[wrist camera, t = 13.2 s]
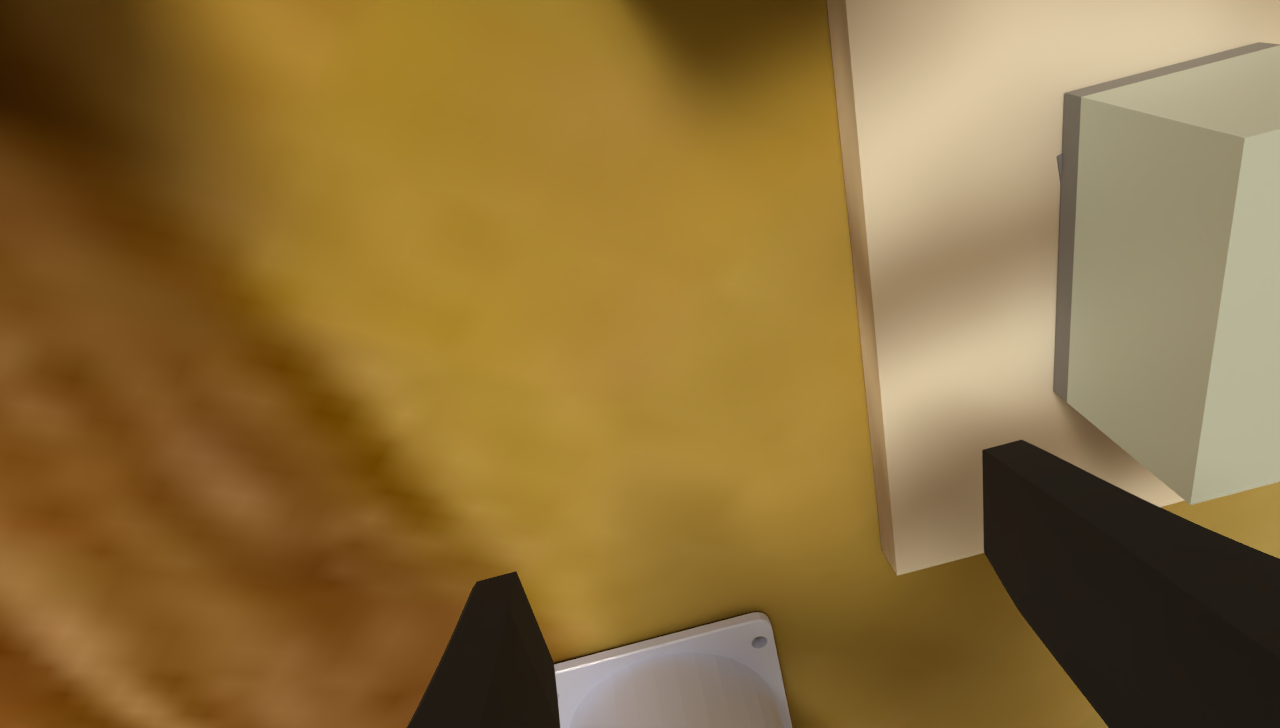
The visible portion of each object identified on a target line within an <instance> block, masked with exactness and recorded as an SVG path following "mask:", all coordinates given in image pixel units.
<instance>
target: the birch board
mask: <svg viewBox="0 0 1280 728" xmlns="http://www.w3.org/2000/svg"><path fill="white" fill-rule="evenodd" d="M826 1H827V11H828V21H829V30H830V40H831V50H832V60H833V70H834V80H835V90H836V100H837V110H838V120H839V130H840V140H841V150H842V160H843V170H844V180H845V190H846V200H847V210H848V220H849V230H850V240H851V250H852V260H853V270H854V280H855V289H856V299H857V309H858V319H859V329H860V339H861V349H862V359H863V369H864V379H865V389H866V399H867V409H868V419H869V429H870V439H871V449H872V459H873V469H874V479H875V489H876V499H877V509H878V519H879V529H880V539H881V548H882V551H883V553H884V554H885V556H886V558H887V559H888V561H889V563H890V565H891V566H892V568H893V570H894V571H895V573H896V575H897V576H898V575H902V574H906V573H909V572H913V571H917V570H921V569H925V568H929V567H932V566H936V565H940V564H944V563H948V562H952V561H955V560H959V559H963V558H967V557H971V556H975V555H978V554H982V553H984V531H983V465H982V450H984V449H987V448H991V447H995V446H999V445H1003V444H1007V443H1010V442H1014V441H1018V440H1024V441H1026V442H1028V443H1030V444H1033V445H1035V446H1037V447H1039V448H1041V449H1043V450H1045V451H1047V452H1049V453H1051V454H1053V455H1055V456H1057V457H1059V458H1061V459H1063V460H1065V461H1067V462H1069V463H1071V464H1073V465H1075V466H1077V467H1079V468H1081V469H1083V470H1085V471H1087V472H1089V473H1091V474H1093V475H1095V476H1097V477H1099V478H1101V479H1103V480H1105V481H1107V482H1109V483H1111V484H1113V485H1115V486H1117V487H1119V488H1121V489H1123V490H1125V491H1127V492H1129V493H1131V494H1133V495H1135V496H1137V497H1139V498H1141V499H1143V500H1146V501H1148V502H1150V503H1152V504H1154V505H1156V506H1158V507H1162V506H1166V505H1170V504H1173V503H1177V502H1181V501H1185V500H1184V499H1182V498H1181V497H1180V496H1179V495H1178V494H1176V493H1175V492H1174V491H1173V490H1172V489H1170V488H1169V487H1168V486H1167V485H1166V484H1164V483H1163V482H1162V481H1161V480H1159V479H1158V478H1157V477H1156V476H1155V475H1153V474H1152V473H1151V472H1150V471H1149V470H1147V469H1146V468H1145V467H1144V466H1143V465H1141V464H1140V463H1139V462H1138V461H1137V460H1135V459H1134V458H1133V457H1132V456H1131V455H1129V454H1128V453H1127V452H1126V451H1125V450H1123V449H1122V448H1121V447H1120V446H1119V445H1117V444H1116V443H1115V442H1114V441H1113V440H1111V439H1110V438H1109V437H1108V436H1107V435H1105V434H1104V433H1103V432H1102V431H1100V430H1099V429H1098V428H1097V427H1096V426H1094V425H1093V424H1092V423H1091V422H1090V421H1088V420H1087V419H1086V418H1085V417H1084V416H1082V415H1081V414H1080V413H1079V412H1078V411H1076V410H1075V409H1074V408H1073V407H1072V406H1070V405H1069V404H1068V403H1067V402H1066V401H1064V400H1063V399H1062V398H1061V397H1060V396H1058V395H1057V394H1056V393H1055V392H1054V367H1055V339H1056V312H1057V285H1058V258H1059V231H1060V203H1061V176H1062V149H1063V122H1064V94H1065V93H1066V92H1070V91H1073V90H1077V89H1081V88H1085V87H1089V86H1093V85H1096V84H1100V83H1104V82H1108V81H1112V80H1116V79H1119V78H1123V77H1127V76H1131V75H1135V74H1139V73H1142V72H1146V71H1150V70H1154V69H1158V68H1162V67H1165V66H1169V65H1173V64H1177V63H1181V62H1185V61H1188V60H1192V59H1196V58H1200V57H1204V56H1208V55H1211V54H1215V53H1219V52H1223V51H1227V50H1231V49H1234V48H1238V47H1242V46H1246V45H1250V44H1254V43H1257V42H1263V43H1271V44H1280V0H826Z"/></svg>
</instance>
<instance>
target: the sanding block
mask: <svg viewBox="0 0 1280 728" xmlns="http://www.w3.org/2000/svg"><path fill="white" fill-rule="evenodd" d="M1054 392H1055V393H1056V394H1057V395H1058V396H1060V397H1061V398H1062V399H1063V400H1064V401H1066V402H1067V403H1068V404H1069V405H1070V406H1072V407H1073V408H1074V409H1075V410H1076V411H1078V412H1079V413H1080V414H1081V415H1082V416H1084V417H1085V418H1086V419H1087V420H1088V421H1090V422H1091V423H1092V424H1093V425H1094V426H1096V427H1097V428H1098V429H1099V430H1100V431H1102V432H1103V433H1104V434H1105V435H1107V436H1108V437H1109V438H1110V439H1111V440H1113V441H1114V442H1115V443H1116V444H1117V445H1119V446H1120V447H1121V448H1122V449H1123V450H1125V451H1126V452H1127V453H1128V454H1129V455H1131V456H1132V457H1133V458H1134V459H1135V460H1137V461H1138V462H1139V463H1140V464H1141V465H1143V466H1144V467H1145V468H1146V469H1147V470H1149V471H1150V472H1151V473H1152V474H1153V475H1155V476H1156V477H1157V478H1158V479H1159V480H1161V481H1162V482H1163V483H1164V484H1166V485H1167V486H1168V487H1169V488H1170V489H1172V490H1173V491H1174V492H1175V493H1176V494H1178V495H1179V496H1180V497H1181V498H1182V499H1184V500H1185V501H1186V502H1187V503H1188V504H1190V505H1192V504H1196V503H1200V502H1204V501H1207V500H1211V499H1215V498H1219V497H1223V496H1227V495H1230V494H1234V493H1238V492H1242V491H1246V490H1249V489H1253V488H1257V487H1261V486H1265V485H1269V484H1272V483H1276V482H1280V44H1271V43H1263V42H1257V43H1254V44H1250V45H1246V46H1242V47H1238V48H1234V49H1231V50H1227V51H1223V52H1219V53H1215V54H1211V55H1208V56H1204V57H1200V58H1196V59H1192V60H1188V61H1185V62H1181V63H1177V64H1173V65H1169V66H1165V67H1162V68H1158V69H1154V70H1150V71H1146V72H1142V73H1139V74H1135V75H1131V76H1127V77H1123V78H1119V79H1116V80H1112V81H1108V82H1104V83H1100V84H1096V85H1093V86H1089V87H1085V88H1081V89H1077V90H1073V91H1070V92H1066V93H1065V94H1064V122H1063V149H1062V176H1061V203H1060V231H1059V258H1058V285H1057V312H1056V339H1055V367H1054Z"/></svg>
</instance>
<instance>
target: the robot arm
mask: <svg viewBox="0 0 1280 728" xmlns="http://www.w3.org/2000/svg"><path fill="white" fill-rule="evenodd" d="M982 465H983V531H984V553H985V554H986V556H987V558H988V560H989V561H990V563H991V565H992V566H993V568H994V570H995V572H996V573H997V575H998V577H999V579H1000V580H1001V582H1002V584H1003V586H1004V587H1005V589H1006V590H1007V592H1008V594H1009V595H1010V597H1011V599H1012V600H1013V602H1014V604H1015V605H1016V607H1017V608H1018V610H1019V611H1020V613H1021V614H1022V616H1023V617H1024V618H1025V620H1026V621H1027V622H1028V624H1029V625H1030V626H1031V627H1032V629H1033V630H1034V631H1035V633H1036V634H1037V635H1038V637H1039V638H1040V639H1041V641H1042V642H1043V643H1044V644H1045V646H1046V647H1047V648H1048V650H1049V651H1050V652H1051V654H1052V655H1053V656H1054V658H1055V659H1056V660H1057V661H1058V663H1059V664H1060V665H1061V667H1062V668H1063V669H1064V670H1065V672H1066V673H1067V674H1068V676H1069V677H1070V678H1071V679H1072V681H1073V682H1074V683H1075V685H1076V686H1077V687H1078V688H1079V690H1080V691H1081V692H1082V694H1083V695H1084V696H1085V697H1086V699H1087V700H1088V701H1089V703H1090V704H1091V705H1092V706H1093V708H1094V709H1095V710H1096V712H1097V713H1098V714H1099V715H1100V717H1101V718H1102V719H1103V721H1104V722H1105V723H1106V724H1107V726H1108V727H1109V728H1280V559H1279V558H1276V557H1274V556H1271V555H1268V554H1266V553H1263V552H1261V551H1258V550H1256V549H1254V548H1251V547H1249V546H1246V545H1244V544H1242V543H1239V542H1237V541H1235V540H1232V539H1230V538H1228V537H1225V536H1223V535H1220V534H1218V533H1216V532H1213V531H1211V530H1209V529H1206V528H1204V527H1202V526H1200V525H1197V524H1195V523H1193V522H1191V521H1189V520H1186V519H1184V518H1182V517H1180V516H1177V515H1175V514H1173V513H1171V512H1169V511H1167V510H1165V509H1162V508H1160V507H1158V506H1156V505H1154V504H1152V503H1150V502H1148V501H1146V500H1143V499H1141V498H1139V497H1137V496H1135V495H1133V494H1131V493H1129V492H1127V491H1125V490H1123V489H1121V488H1119V487H1117V486H1115V485H1113V484H1111V483H1109V482H1107V481H1105V480H1103V479H1101V478H1099V477H1097V476H1095V475H1093V474H1091V473H1089V472H1087V471H1085V470H1083V469H1081V468H1079V467H1077V466H1075V465H1073V464H1071V463H1069V462H1067V461H1065V460H1063V459H1061V458H1059V457H1057V456H1055V455H1053V454H1051V453H1049V452H1047V451H1045V450H1043V449H1041V448H1039V447H1037V446H1035V445H1033V444H1030V443H1028V442H1026V441H1024V440H1018V441H1014V442H1010V443H1007V444H1003V445H999V446H995V447H991V448H987V449H984V450H982ZM761 636H762V637H761ZM756 637H760V638H758V639H754V638H756ZM407 728H792V724H791V719H790V714H789V709H788V704H787V699H786V694H785V689H784V684H783V680H782V675H781V670H780V665H779V660H778V655H777V650H776V645H775V640H774V635H773V631H772V626H771V623H770V621H769V618H768V616H767V615H765V614H764V613H759V612H754V613H749V614H745V615H742V616H738V617H734V618H730V619H726V620H722V621H719V622H715V623H711V624H707V625H703V626H699V627H696V628H692V629H688V630H684V631H680V632H677V633H673V634H669V635H665V636H661V637H657V638H654V639H650V640H646V641H642V642H638V643H634V644H631V645H627V646H623V647H619V648H615V649H611V650H608V651H604V652H600V653H596V654H592V655H589V656H585V657H581V658H577V659H573V660H569V661H566V662H562V663H558V664H554V663H553V660H552V658H551V655H550V653H549V650H548V648H547V645H546V643H545V640H544V638H543V636H542V633H541V631H540V628H539V626H538V623H537V621H536V618H535V616H534V614H533V611H532V609H531V606H530V604H529V601H528V599H527V596H526V594H525V592H524V589H523V587H522V584H521V582H520V579H519V577H518V574H517V572H512V573H508V574H504V575H501V576H497V577H493V578H489V579H485V580H481V581H478V582H476V584H475V586H474V587H473V589H472V591H471V593H470V595H469V598H468V600H467V602H466V605H465V607H464V609H463V611H462V614H461V616H460V618H459V621H458V623H457V625H456V628H455V630H454V632H453V634H452V637H451V639H450V641H449V643H448V645H447V648H446V650H445V652H444V654H443V656H442V658H441V661H440V663H439V665H438V667H437V669H436V671H435V673H434V675H433V677H432V679H431V681H430V683H429V685H428V687H427V689H426V691H425V693H424V695H423V697H422V700H421V702H420V704H419V706H418V708H417V710H416V711H415V713H414V715H413V717H412V719H411V721H410V723H409V725H408V727H407Z"/></svg>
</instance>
